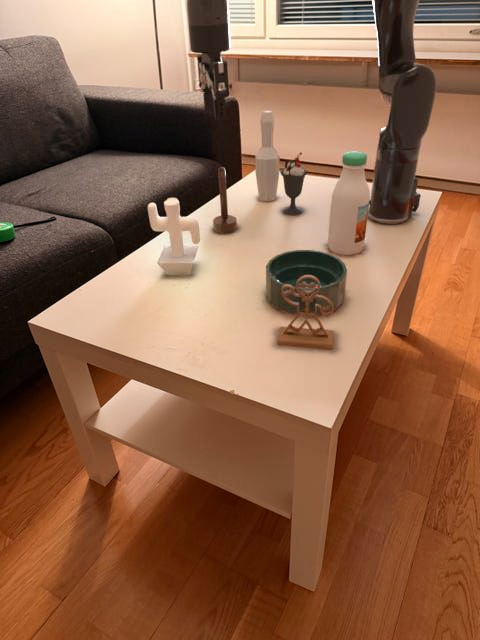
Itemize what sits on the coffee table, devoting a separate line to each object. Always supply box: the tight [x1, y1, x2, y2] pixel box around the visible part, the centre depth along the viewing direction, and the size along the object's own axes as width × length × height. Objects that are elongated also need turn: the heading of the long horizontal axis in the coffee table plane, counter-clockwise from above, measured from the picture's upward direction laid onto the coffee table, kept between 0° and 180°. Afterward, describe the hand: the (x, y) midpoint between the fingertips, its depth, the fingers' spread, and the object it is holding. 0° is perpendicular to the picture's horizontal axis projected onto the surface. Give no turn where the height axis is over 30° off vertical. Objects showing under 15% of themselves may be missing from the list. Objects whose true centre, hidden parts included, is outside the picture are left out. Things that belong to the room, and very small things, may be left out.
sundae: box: [279, 152, 309, 216], centre depth 114 cm, size 7×7×15 cm
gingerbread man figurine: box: [276, 275, 335, 350], centre depth 72 cm, size 9×4×12 cm, turn 80°
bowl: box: [265, 249, 348, 316], centre depth 84 cm, size 14×14×6 cm
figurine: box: [147, 197, 201, 276], centre depth 91 cm, size 7×9×15 cm
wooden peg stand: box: [212, 166, 238, 235], centre depth 107 cm, size 6×6×15 cm
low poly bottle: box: [254, 110, 281, 202], centre depth 120 cm, size 6×6×22 cm
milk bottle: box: [327, 150, 371, 256], centre depth 95 cm, size 8×8×20 cm
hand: (215, 115), depth 94 cm, fingers open, 8 cm apart
